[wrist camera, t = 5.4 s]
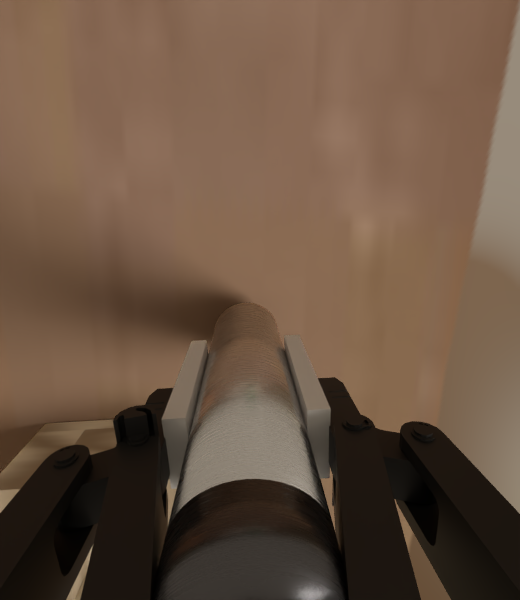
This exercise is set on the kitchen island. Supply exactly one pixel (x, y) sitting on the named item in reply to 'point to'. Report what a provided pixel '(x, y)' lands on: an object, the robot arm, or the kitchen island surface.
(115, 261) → the kitchen island surface
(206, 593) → the steel peg
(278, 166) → the kitchen island surface
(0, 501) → the birch socket block
